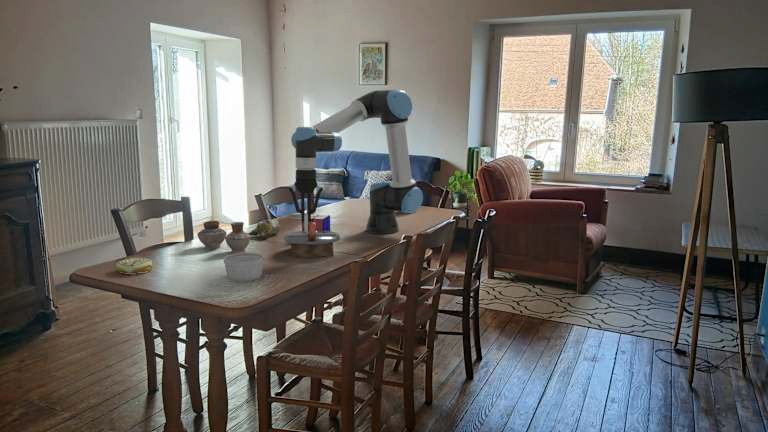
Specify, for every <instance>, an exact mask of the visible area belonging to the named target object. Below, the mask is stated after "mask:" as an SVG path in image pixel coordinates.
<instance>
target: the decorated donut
mask: <svg viewBox="0 0 768 432" xmlns="http://www.w3.org/2000/svg"><path fill="white" fill-rule="evenodd" d="M152 267H153V261H152V260H151V259H150V258H146V257H129V258H126V259H122V260H119V261H117V262H116V264H115V268H116V270H117V272H118V271H119V272H123V273H138V272H145V271H148V270H150V269H151V270H152V269H153V268H152ZM151 270H150V271H151ZM119 272H118V273H119ZM148 272H149V271H148Z"/></svg>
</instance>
